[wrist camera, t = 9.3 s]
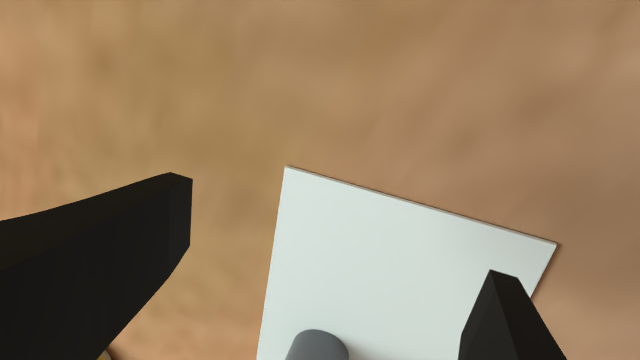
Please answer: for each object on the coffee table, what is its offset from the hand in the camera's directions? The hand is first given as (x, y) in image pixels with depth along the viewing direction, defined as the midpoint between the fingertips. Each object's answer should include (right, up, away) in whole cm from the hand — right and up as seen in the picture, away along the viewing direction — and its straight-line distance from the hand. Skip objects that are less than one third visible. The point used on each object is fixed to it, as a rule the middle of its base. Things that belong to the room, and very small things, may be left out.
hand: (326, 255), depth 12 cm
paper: (+3, -5, +13) cm, 15 cm away
